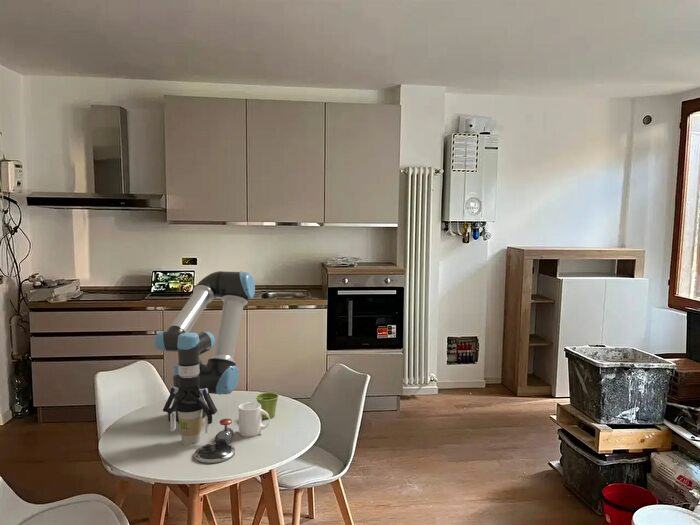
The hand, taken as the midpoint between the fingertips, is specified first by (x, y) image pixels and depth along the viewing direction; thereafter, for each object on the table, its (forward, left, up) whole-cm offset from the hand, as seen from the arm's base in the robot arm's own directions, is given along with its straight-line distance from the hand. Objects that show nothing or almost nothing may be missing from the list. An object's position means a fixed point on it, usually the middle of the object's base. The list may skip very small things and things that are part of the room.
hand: (190, 431), depth 198 cm
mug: (-11, +21, -4) cm, 24 cm away
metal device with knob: (+6, +13, -5) cm, 15 cm away
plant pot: (-28, +21, -4) cm, 35 cm away
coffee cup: (0, 0, -4) cm, 4 cm away
